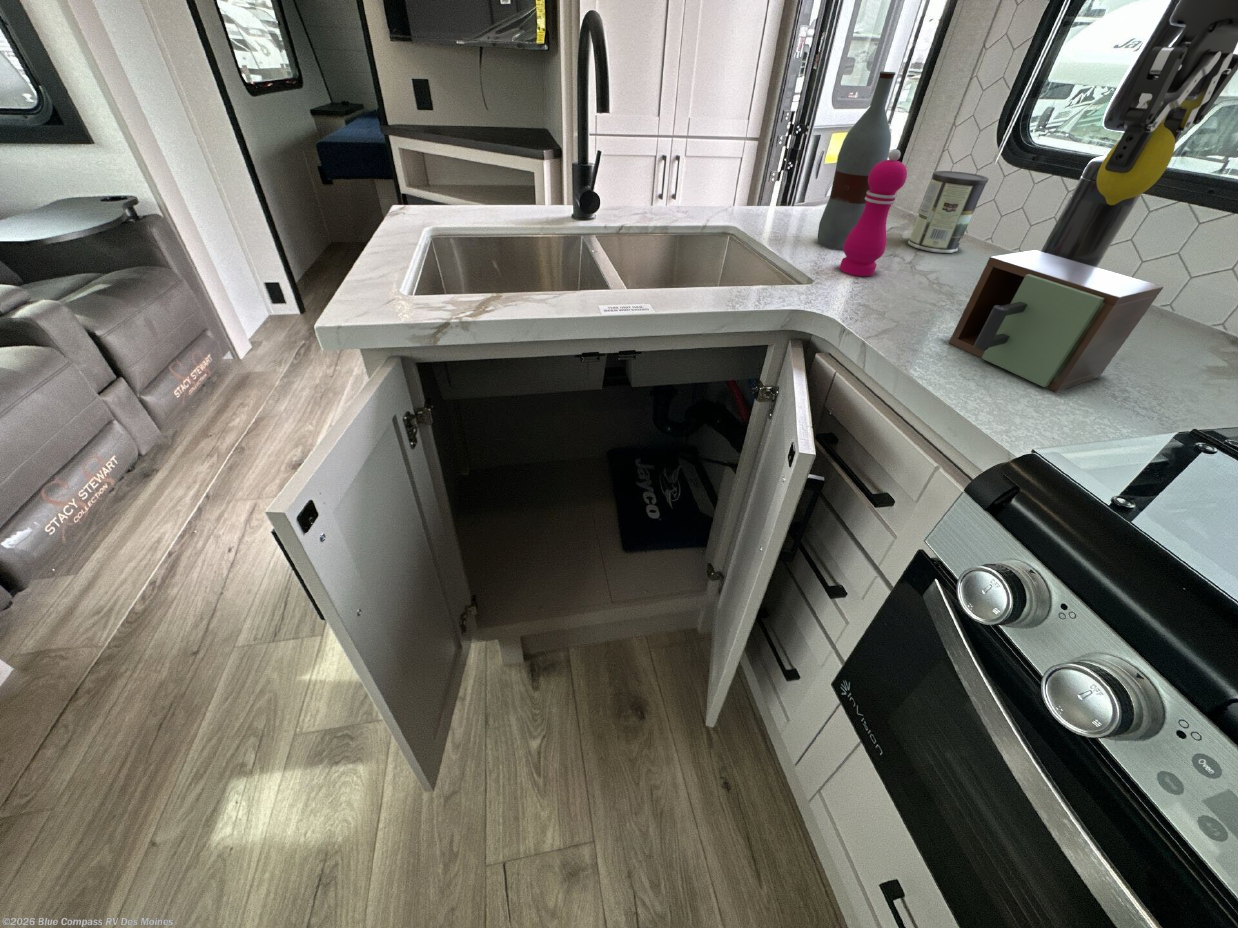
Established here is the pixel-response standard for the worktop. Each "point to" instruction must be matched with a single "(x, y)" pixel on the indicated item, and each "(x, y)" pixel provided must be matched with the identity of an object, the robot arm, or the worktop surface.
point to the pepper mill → (874, 218)
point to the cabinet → (1120, 291)
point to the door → (1037, 328)
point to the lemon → (1138, 168)
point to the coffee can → (946, 211)
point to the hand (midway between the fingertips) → (1131, 170)
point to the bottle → (856, 168)
